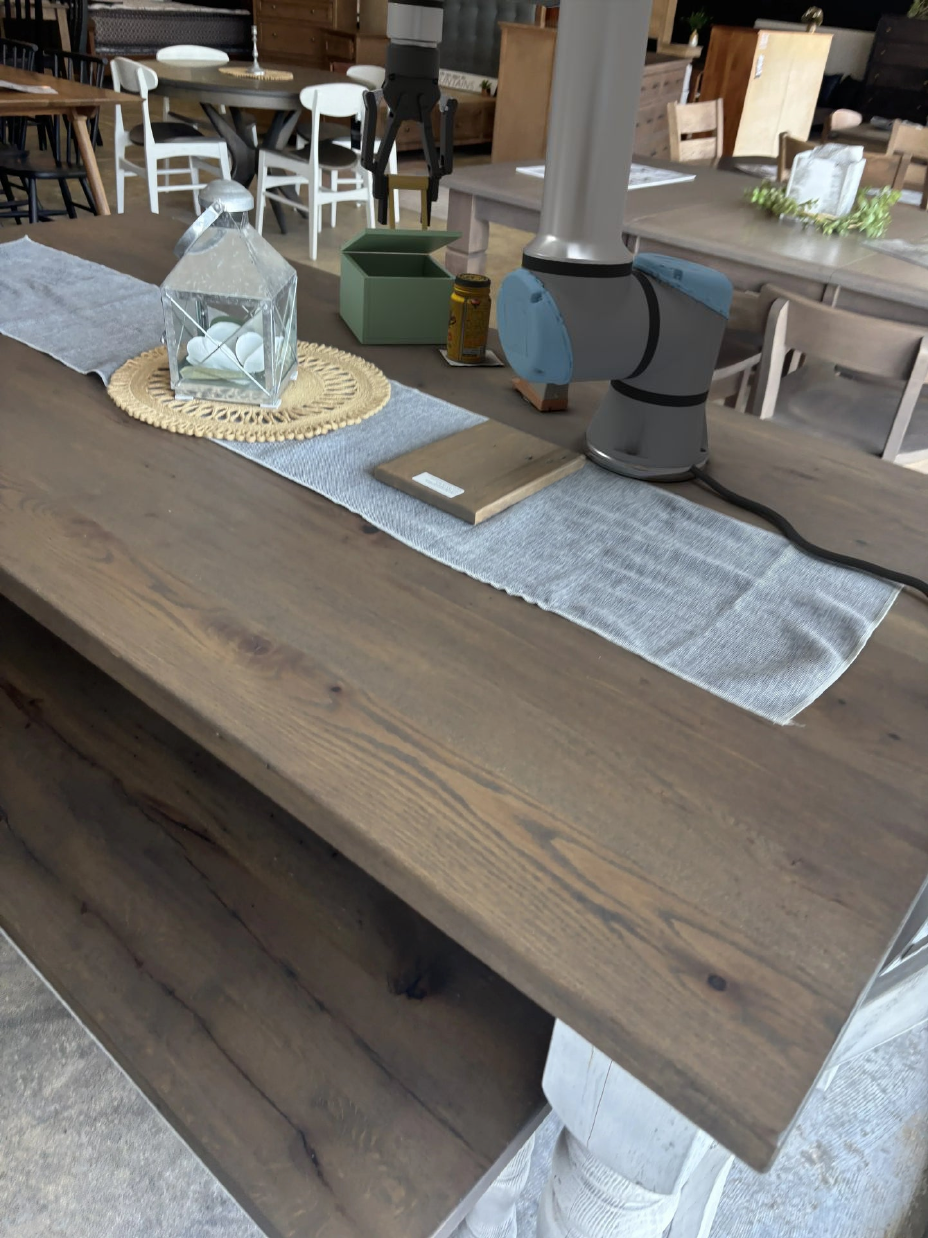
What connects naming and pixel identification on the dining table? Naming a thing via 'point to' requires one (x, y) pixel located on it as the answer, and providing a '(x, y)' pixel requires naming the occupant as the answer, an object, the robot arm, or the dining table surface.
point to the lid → (402, 238)
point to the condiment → (469, 322)
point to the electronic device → (543, 394)
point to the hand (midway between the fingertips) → (403, 223)
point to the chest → (395, 298)
